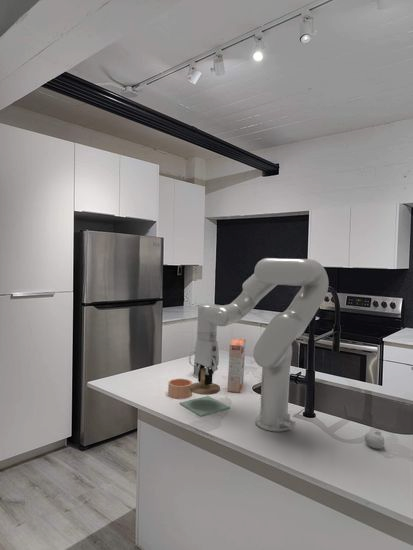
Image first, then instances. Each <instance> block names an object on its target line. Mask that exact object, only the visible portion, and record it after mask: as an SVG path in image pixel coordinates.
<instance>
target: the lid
mask: <svg viewBox="0 0 413 550" xmlns="http://www.w3.org/2000/svg"><path fill="white" fill-rule="evenodd" d="M210 369H211V368H210ZM210 369H209V370H210ZM205 375H206V367H205V368H202V369H201V379H200V382H199V381H197V382H192V384H191V385H190V386H189V390H190V391H191V392H192V394H197V395H201V396H203V395H205V396H210V395H216V394H218V393H219V392H221V386H220V385H218V384H217V383H214V382H212V384H209V385H205Z"/></svg>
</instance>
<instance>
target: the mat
mask: <svg viewBox="0 0 413 550" xmlns="http://www.w3.org/2000/svg"><path fill="white" fill-rule="evenodd" d="M179 405H180V406H182V407H184V408H185V409H187V410H188V411H190V412H192V413H194V414H195V415H197V416H199V417H203V416H208V415H212V414H216V413H219V412H223V411H225V410H229V409H231V407H230V406H228V405H227V404H225V403H223V402H221V401H219V400H218V399H215V398H213V397H212V396H210V395H205V396H202V397H198V398H193V399H190V400H189V399H188V400H185V401H181V402H179Z"/></svg>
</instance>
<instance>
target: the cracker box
mask: <svg viewBox="0 0 413 550" xmlns="http://www.w3.org/2000/svg"><path fill="white" fill-rule="evenodd" d="M228 349H229V352H228V353H229V354H228V371H227V372H228V373H227V374H228V376H227V392H229V393H231V392H232V393H239V394H240V393H241V390H242V389H243V384H244V377H245V376H244V375H245V358H246V339H245V338H233V339H232V340H231V342H230V344H229V348H228Z"/></svg>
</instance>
